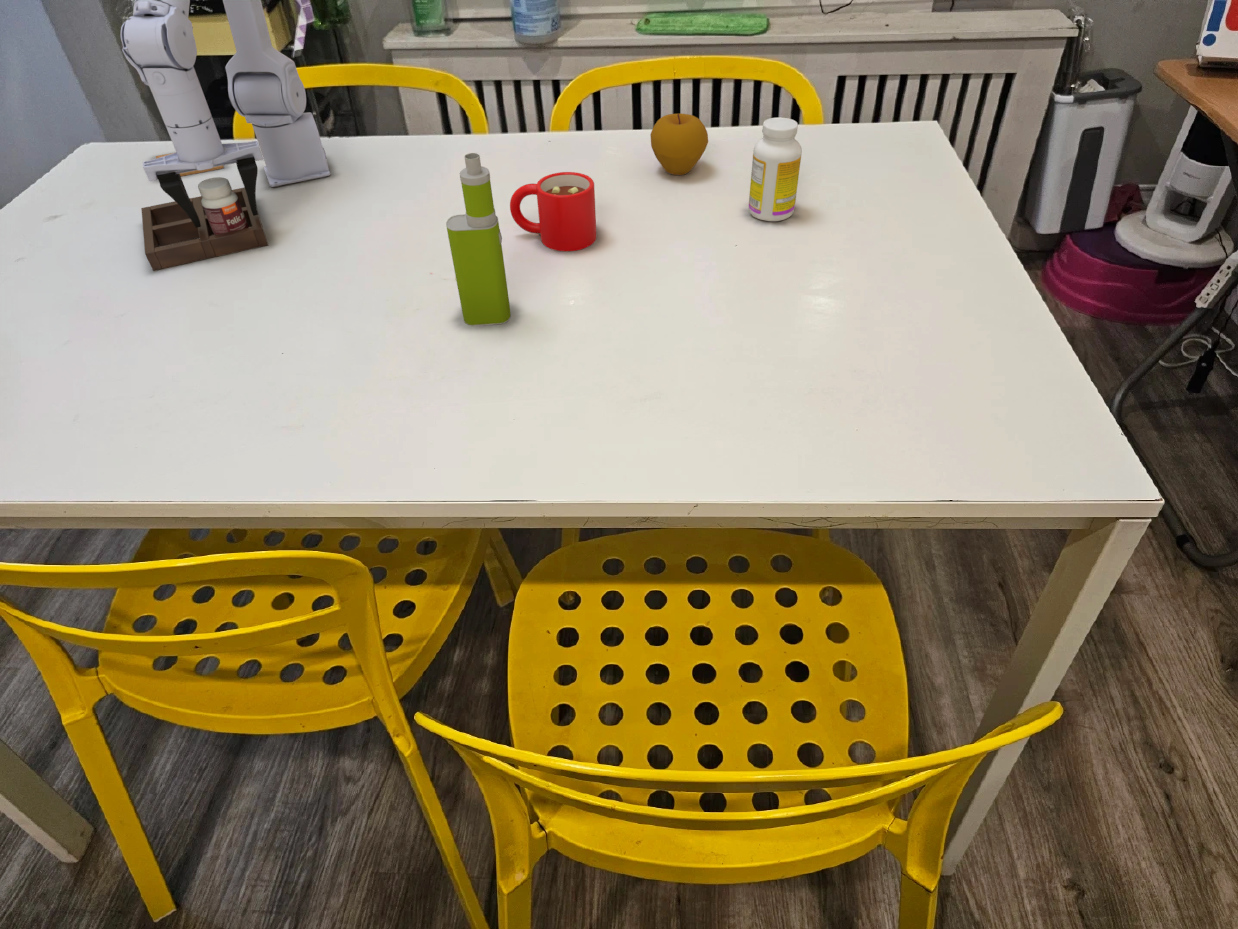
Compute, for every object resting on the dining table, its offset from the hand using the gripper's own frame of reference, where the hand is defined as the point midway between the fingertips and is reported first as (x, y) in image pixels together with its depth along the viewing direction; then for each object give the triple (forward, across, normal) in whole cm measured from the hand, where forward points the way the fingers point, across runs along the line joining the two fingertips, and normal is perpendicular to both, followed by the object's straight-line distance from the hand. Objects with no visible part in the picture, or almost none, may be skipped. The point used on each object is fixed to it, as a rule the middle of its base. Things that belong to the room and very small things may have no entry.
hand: (226, 218), depth 112 cm
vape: (+3, +26, -36) cm, 45 cm away
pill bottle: (+3, 0, 0) cm, 3 cm away
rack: (+3, -4, +4) cm, 6 cm away
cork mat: (+3, -4, +32) cm, 32 cm away
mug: (+3, +41, -21) cm, 46 cm away
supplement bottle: (+3, +72, -29) cm, 78 cm away
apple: (+3, +67, -10) cm, 68 cm away
